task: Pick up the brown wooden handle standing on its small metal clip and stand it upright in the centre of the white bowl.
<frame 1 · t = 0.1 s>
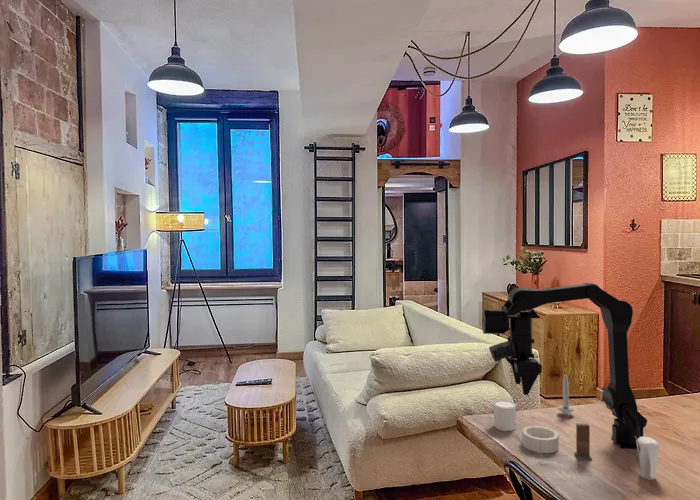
hand: (521, 389, 132), 15 cm above the table, tool pointing down, fingers open, 9 cm apart
screw: (565, 415, 150), on the table
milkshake: (645, 477, 112), on the table
white bowl: (540, 445, 129), on the table
brown wooden handle: (583, 457, 122), on the table
white tapered cylinder: (504, 427, 142), on the table
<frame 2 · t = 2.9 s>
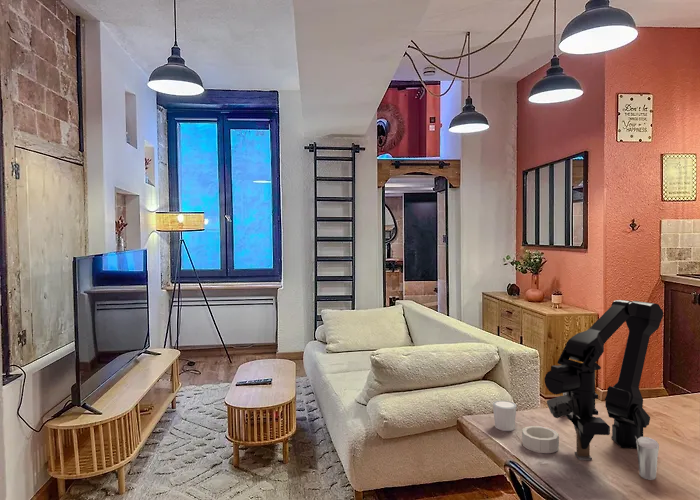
hand: (582, 447, 122), 3 cm above the table, tool pointing down, fingers closed on brown wooden handle
brown wooden handle: (583, 457, 122), on the table, touching gripper
everything else where it was.
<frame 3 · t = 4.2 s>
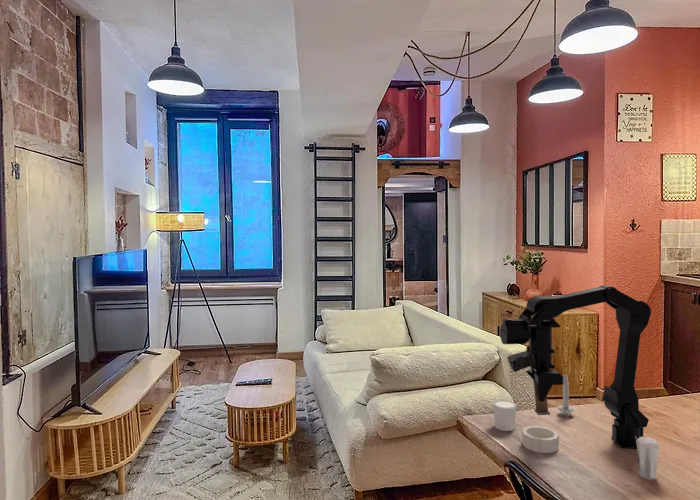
hand: (540, 400, 129), 13 cm above the table, tool pointing down, fingers closed on brown wooden handle
brown wooden handle: (542, 412, 129), point 9 cm above the table, touching gripper
everything else where it was.
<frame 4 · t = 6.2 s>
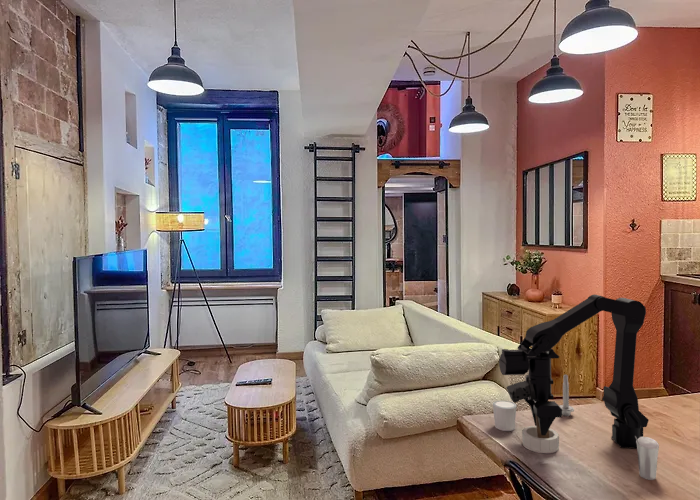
hand: (540, 430, 129), 4 cm above the table, tool pointing down, fingers open, 6 cm apart
brown wooden handle: (544, 442, 129), point 1 cm above the table, touching white bowl
everything else where it was.
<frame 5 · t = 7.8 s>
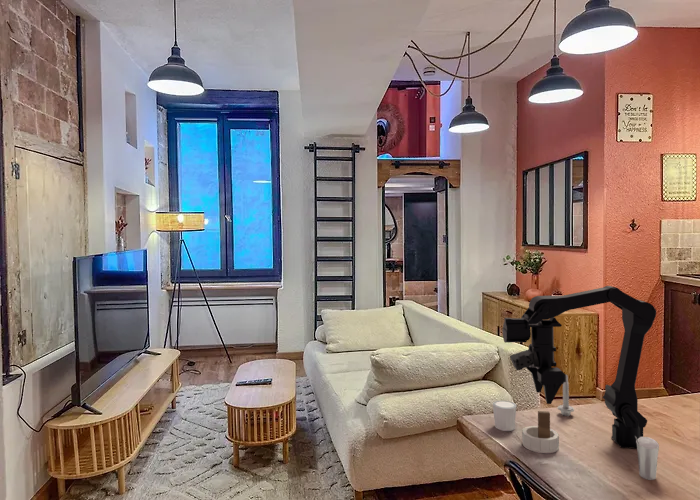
hand: (543, 397, 131), 12 cm above the table, tool pointing down, fingers open, 9 cm apart
nothing on the table moved.
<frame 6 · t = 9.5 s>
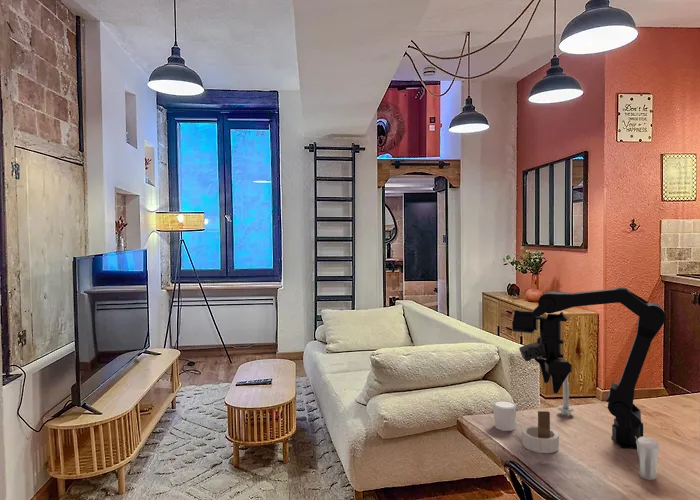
hand: (550, 387, 139), 13 cm above the table, tool pointing down, fingers open, 9 cm apart
nothing on the table moved.
at the end: brown wooden handle 1.0 cm from the white bowl (horizontally); brown wooden handle point 0.7 cm above the table; brown wooden handle tilted 0° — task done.
